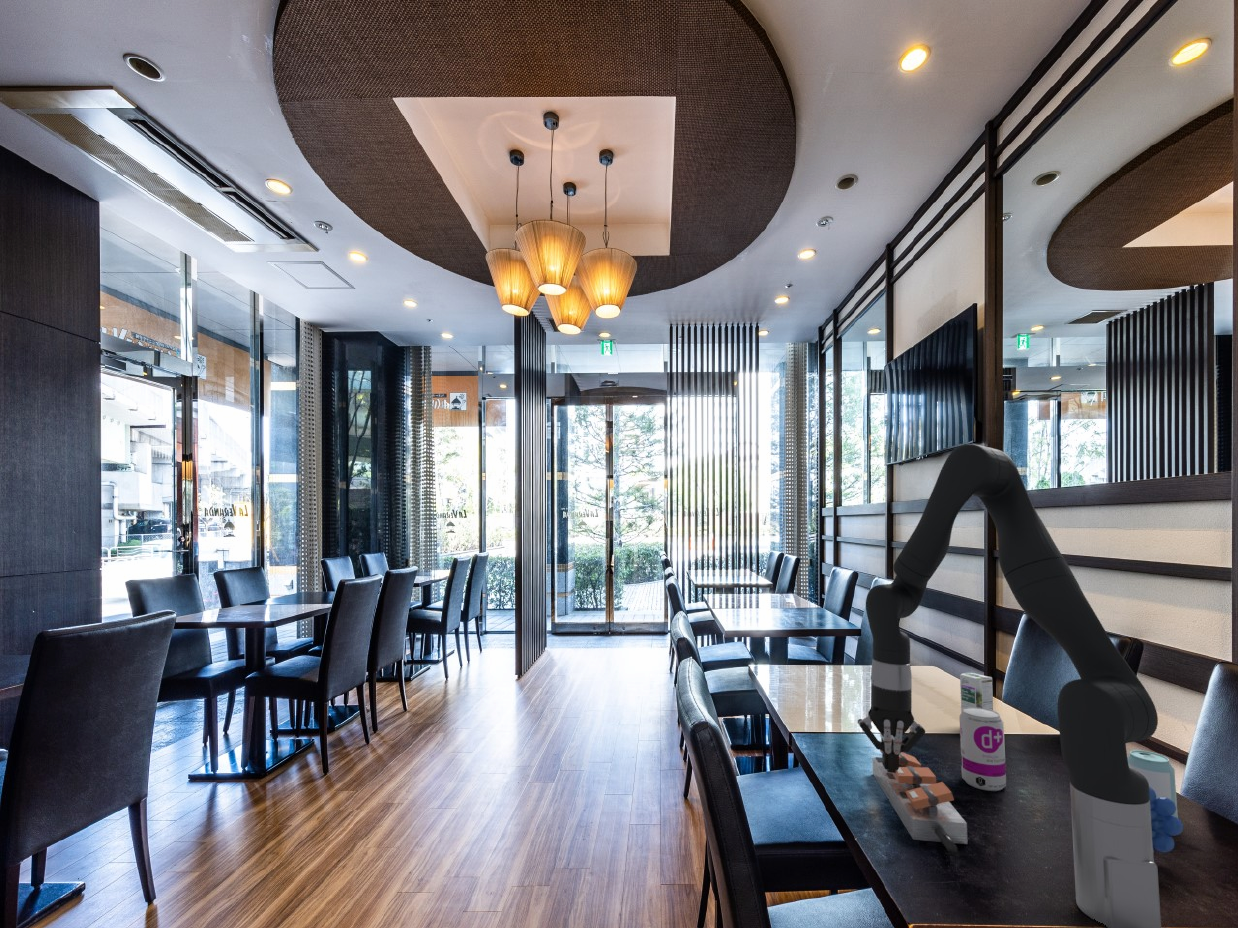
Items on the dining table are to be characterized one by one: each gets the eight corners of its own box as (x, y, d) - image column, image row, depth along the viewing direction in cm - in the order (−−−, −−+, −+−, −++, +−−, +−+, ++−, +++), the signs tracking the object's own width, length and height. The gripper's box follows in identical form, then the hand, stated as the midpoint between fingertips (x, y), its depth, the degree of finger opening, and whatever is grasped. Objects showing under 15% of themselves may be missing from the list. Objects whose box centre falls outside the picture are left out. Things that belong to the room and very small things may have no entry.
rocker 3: (954, 801, 111) (951, 790, 111) (916, 810, 112) (912, 800, 112) (945, 790, 115) (942, 780, 115) (908, 799, 116) (905, 789, 116)
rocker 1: (919, 772, 128) (921, 764, 128) (885, 759, 130) (887, 751, 130) (912, 763, 133) (914, 755, 133) (879, 751, 134) (882, 743, 134)
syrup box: (960, 728, 167) (958, 673, 168) (975, 725, 169) (972, 671, 170) (980, 735, 162) (978, 678, 163) (995, 731, 164) (992, 676, 165)
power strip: (982, 862, 101) (981, 834, 102) (924, 857, 103) (923, 829, 103) (915, 776, 135) (914, 755, 135) (872, 773, 136) (872, 752, 137)
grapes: (1176, 854, 104) (1172, 781, 105) (1191, 875, 98) (1186, 797, 99) (1092, 837, 110) (1088, 768, 111) (1100, 855, 104) (1096, 782, 105)
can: (1120, 815, 118) (1116, 750, 119) (1143, 809, 121) (1139, 746, 122) (1163, 832, 112) (1159, 764, 113) (1187, 826, 114) (1182, 759, 115)
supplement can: (1013, 793, 127) (1009, 719, 128) (969, 790, 129) (966, 716, 130) (997, 777, 135) (994, 707, 136) (956, 774, 137) (953, 705, 138)
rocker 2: (936, 784, 120) (935, 775, 120) (898, 784, 121) (898, 774, 121) (928, 775, 124) (928, 766, 124) (892, 774, 125) (891, 765, 125)
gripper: (861, 685, 122) (860, 775, 120) (932, 691, 120) (932, 782, 118) (852, 675, 129) (852, 760, 128) (919, 680, 127) (919, 766, 126)
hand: (890, 770), depth 123 cm, fingers closed
